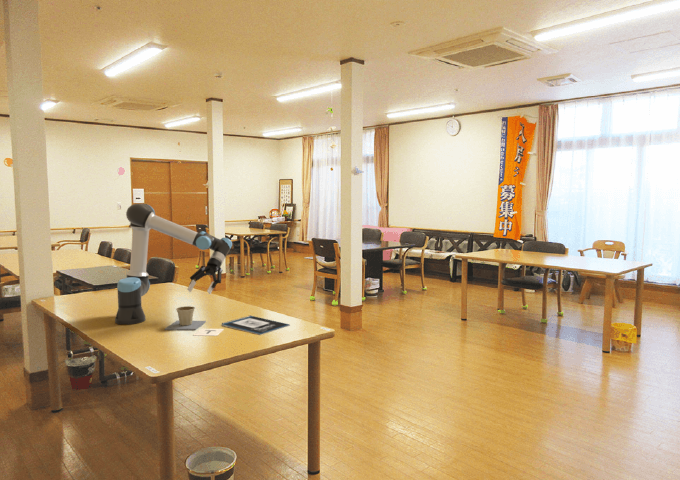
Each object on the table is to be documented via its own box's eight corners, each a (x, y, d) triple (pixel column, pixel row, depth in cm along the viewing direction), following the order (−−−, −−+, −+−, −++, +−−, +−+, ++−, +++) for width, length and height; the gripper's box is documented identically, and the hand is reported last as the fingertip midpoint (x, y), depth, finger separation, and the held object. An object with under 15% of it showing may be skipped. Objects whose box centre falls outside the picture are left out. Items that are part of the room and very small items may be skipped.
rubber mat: (164, 329, 234) (164, 328, 234) (177, 321, 250) (177, 320, 250) (195, 330, 234) (195, 328, 234) (205, 322, 250) (205, 320, 249)
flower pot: (189, 326, 237) (189, 310, 236) (172, 326, 238) (172, 309, 238) (198, 322, 246) (198, 306, 245) (182, 321, 247) (181, 306, 247)
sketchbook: (260, 336, 226) (260, 332, 226) (220, 326, 243) (220, 322, 243) (289, 326, 243) (289, 322, 243) (250, 318, 261) (250, 314, 261)
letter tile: (192, 335, 225) (192, 335, 225) (201, 328, 237) (201, 328, 237) (217, 335, 224) (217, 335, 224) (224, 329, 236) (224, 328, 236)
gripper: (236, 266, 260) (220, 297, 248) (201, 264, 270) (184, 293, 258) (230, 258, 255) (213, 289, 242) (195, 256, 265) (177, 285, 252)
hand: (198, 291), depth 250 cm, fingers open, 13 cm apart
